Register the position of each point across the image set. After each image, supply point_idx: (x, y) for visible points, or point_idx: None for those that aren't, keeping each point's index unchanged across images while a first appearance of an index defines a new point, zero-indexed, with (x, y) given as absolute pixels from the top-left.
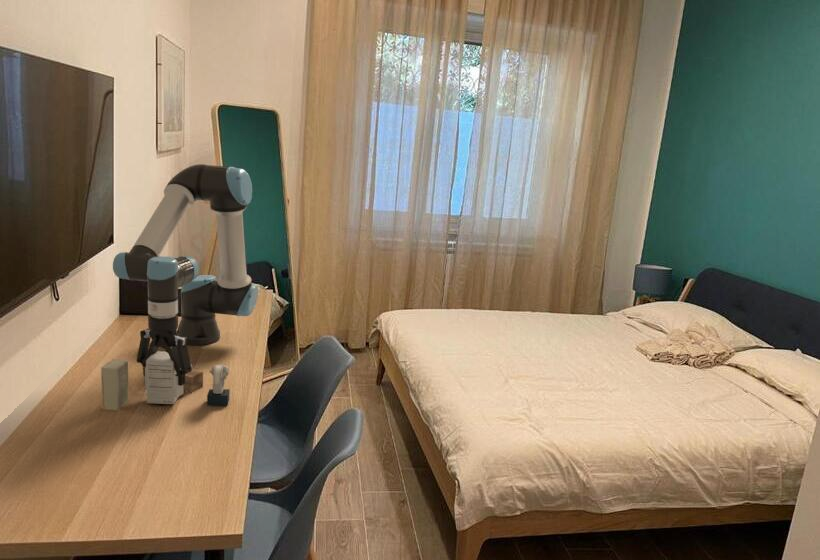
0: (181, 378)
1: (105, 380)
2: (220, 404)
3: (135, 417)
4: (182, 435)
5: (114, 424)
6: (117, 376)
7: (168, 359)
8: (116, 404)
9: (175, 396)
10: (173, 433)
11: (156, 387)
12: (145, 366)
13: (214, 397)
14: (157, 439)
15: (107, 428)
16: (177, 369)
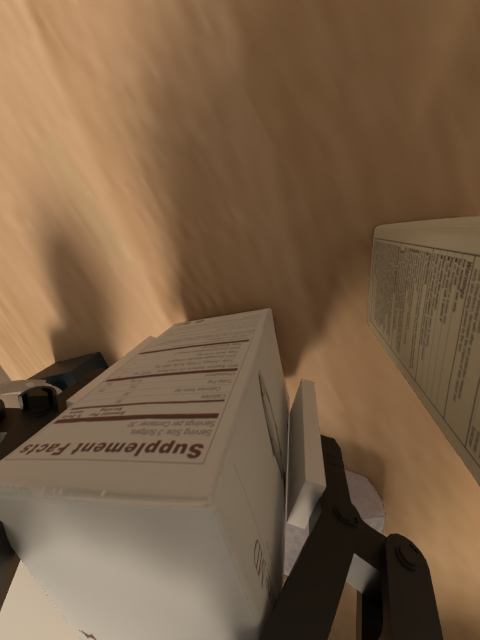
0: (63, 392)
1: None
2: (66, 361)
3: (263, 192)
4: (13, 108)
5: (318, 78)
6: None
7: (31, 536)
8: (389, 225)
9: (153, 338)
10: (48, 110)
11: (209, 342)
12: (329, 499)
13: (58, 371)
14: (59, 19)
15: (331, 10)
16: (20, 433)
